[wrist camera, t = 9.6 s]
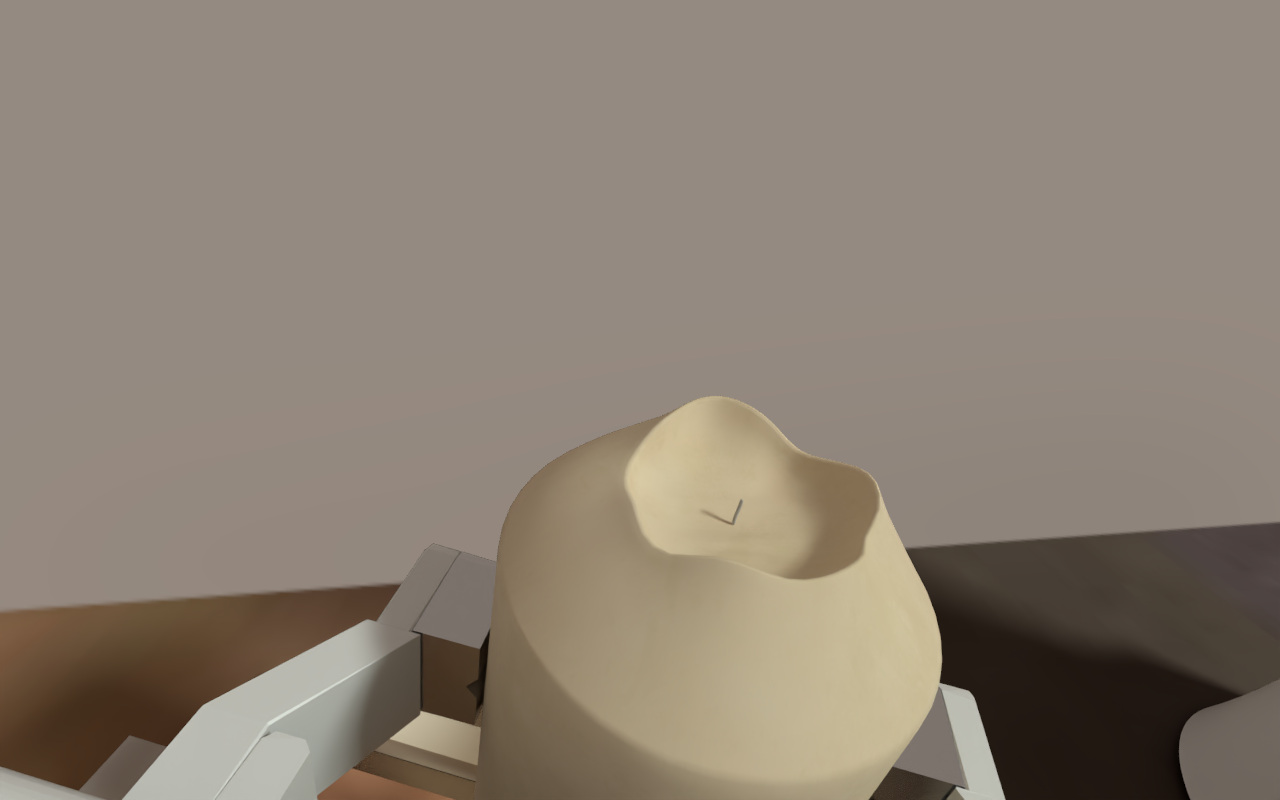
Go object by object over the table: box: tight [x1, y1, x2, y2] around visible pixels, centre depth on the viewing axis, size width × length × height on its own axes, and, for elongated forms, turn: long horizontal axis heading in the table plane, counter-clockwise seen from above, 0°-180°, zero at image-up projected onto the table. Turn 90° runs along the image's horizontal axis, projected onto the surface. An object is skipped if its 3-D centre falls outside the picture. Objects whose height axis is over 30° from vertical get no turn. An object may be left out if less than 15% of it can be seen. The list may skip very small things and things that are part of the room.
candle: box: [474, 396, 942, 800], centre depth 10 cm, size 6×6×10 cm
